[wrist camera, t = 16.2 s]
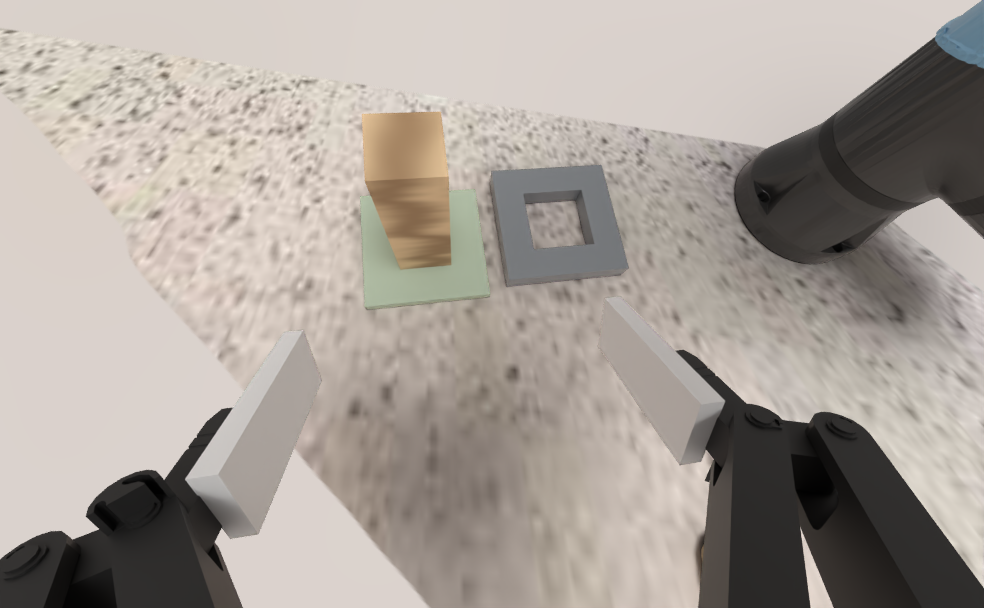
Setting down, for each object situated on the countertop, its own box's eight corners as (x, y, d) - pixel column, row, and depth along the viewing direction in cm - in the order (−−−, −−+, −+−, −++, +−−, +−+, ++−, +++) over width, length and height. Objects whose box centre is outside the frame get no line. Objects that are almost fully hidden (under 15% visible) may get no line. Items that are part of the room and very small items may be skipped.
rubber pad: (474, 194, 39) (474, 189, 38) (489, 296, 35) (490, 293, 34) (362, 201, 37) (360, 196, 36) (367, 309, 34) (364, 306, 33)
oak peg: (446, 220, 36) (440, 111, 23) (451, 265, 35) (448, 176, 22) (397, 224, 36) (361, 114, 22) (400, 269, 34) (364, 181, 21)
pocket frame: (594, 176, 41) (601, 164, 39) (619, 275, 38) (628, 267, 36) (489, 182, 39) (491, 171, 37) (506, 286, 36) (509, 279, 34)
